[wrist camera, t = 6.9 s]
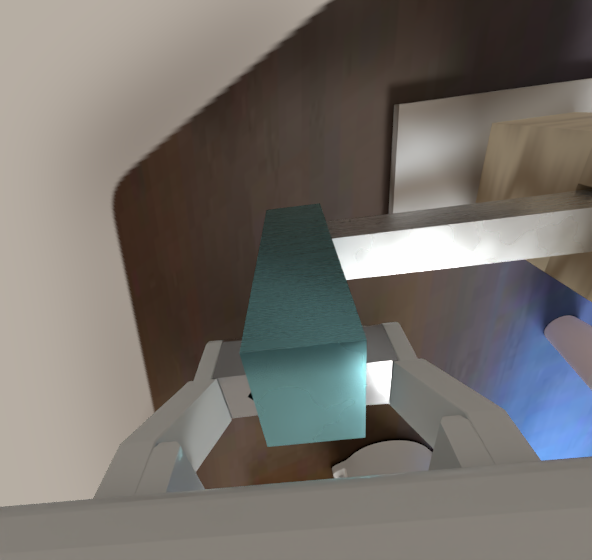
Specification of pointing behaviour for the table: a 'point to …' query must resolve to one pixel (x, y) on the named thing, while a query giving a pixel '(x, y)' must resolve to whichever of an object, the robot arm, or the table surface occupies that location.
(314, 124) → the table surface
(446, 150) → the stand
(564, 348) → the smoothie
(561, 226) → the shaft
